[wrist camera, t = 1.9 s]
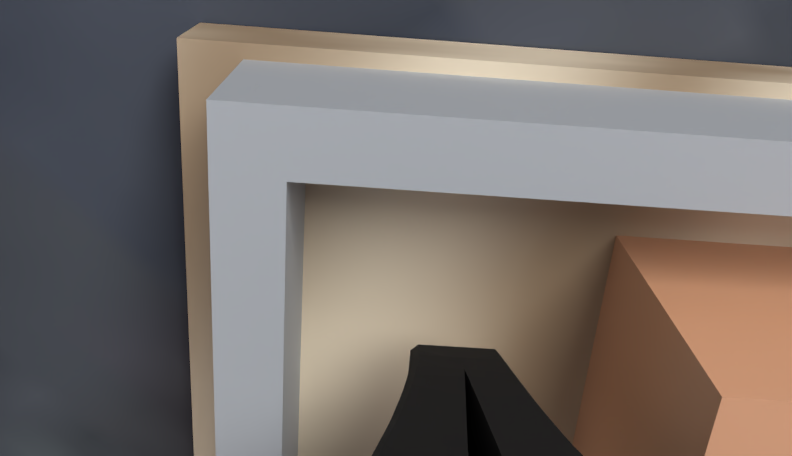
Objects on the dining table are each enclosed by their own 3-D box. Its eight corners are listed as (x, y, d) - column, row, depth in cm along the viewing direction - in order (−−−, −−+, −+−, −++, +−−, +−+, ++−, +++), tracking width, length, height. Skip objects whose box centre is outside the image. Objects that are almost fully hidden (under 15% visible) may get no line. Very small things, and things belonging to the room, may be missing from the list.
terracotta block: (876, 253, 13) (1102, 420, 9) (800, 461, 15) (959, 680, 11) (615, 235, 13) (722, 397, 9) (571, 448, 15) (641, 665, 10)
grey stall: (1066, 120, 12) (1226, 173, 10) (871, 562, 16) (952, 675, 14) (243, 59, 12) (206, 99, 9) (246, 528, 15) (220, 639, 13)
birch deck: (1411, 113, 14) (1526, 138, 12) (1064, 666, 19) (1115, 725, 18) (199, 22, 13) (176, 37, 11) (217, 624, 19) (203, 683, 17)
